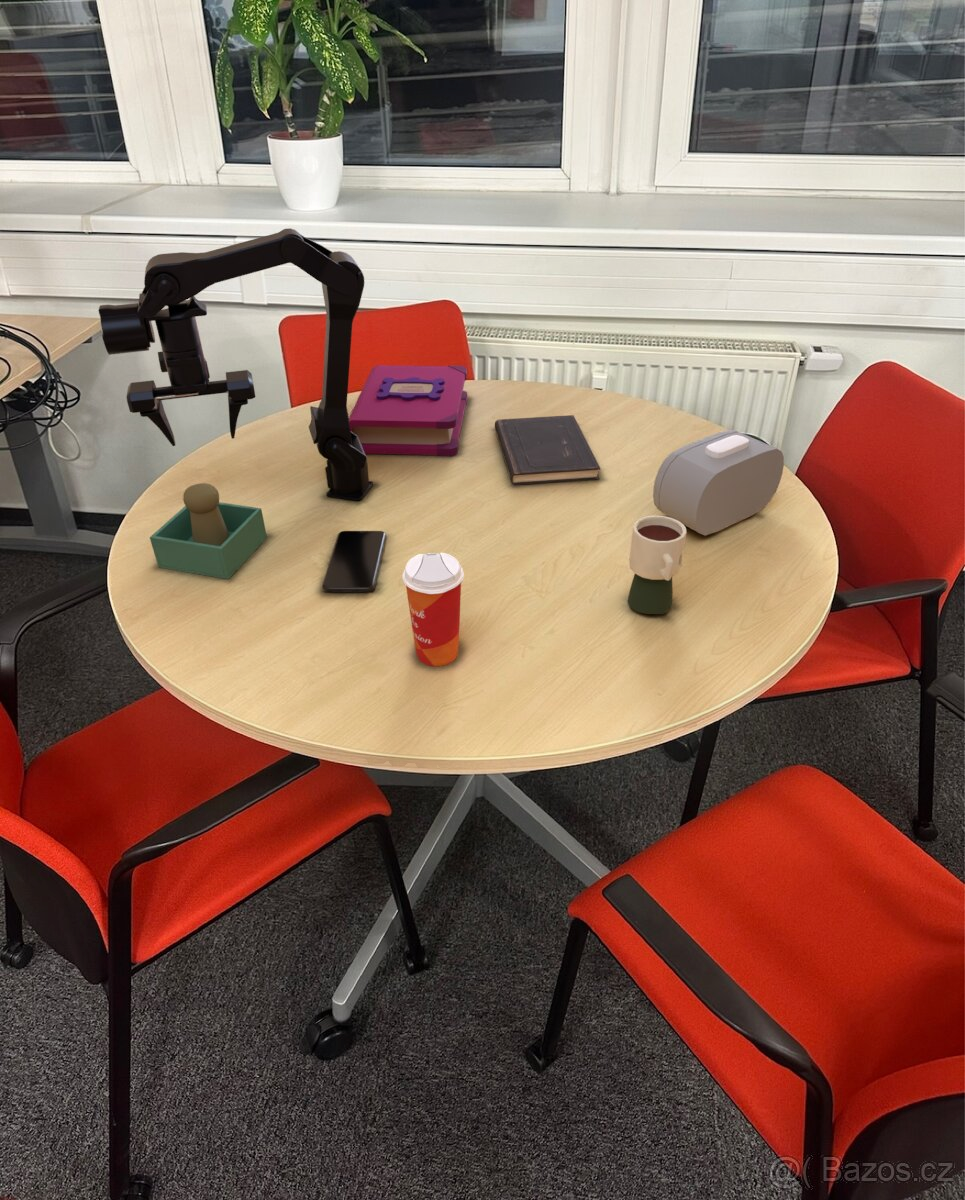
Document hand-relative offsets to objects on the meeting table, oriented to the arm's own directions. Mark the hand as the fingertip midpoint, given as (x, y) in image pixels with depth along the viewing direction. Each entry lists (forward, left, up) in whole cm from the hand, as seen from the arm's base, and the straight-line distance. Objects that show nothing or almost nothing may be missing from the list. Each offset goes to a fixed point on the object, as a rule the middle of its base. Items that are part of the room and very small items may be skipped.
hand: (203, 441), depth 134 cm
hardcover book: (-49, -35, -13) cm, 62 cm away
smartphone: (-29, +9, -13) cm, 33 cm away
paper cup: (-48, +26, -13) cm, 56 cm away
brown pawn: (-6, +12, -13) cm, 18 cm away
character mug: (-74, +8, -13) cm, 75 cm away
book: (-20, -41, -13) cm, 48 cm away
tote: (-6, +12, -13) cm, 18 cm away
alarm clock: (-81, -20, -13) cm, 84 cm away
